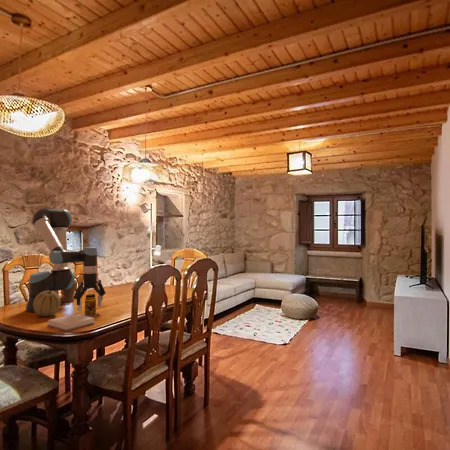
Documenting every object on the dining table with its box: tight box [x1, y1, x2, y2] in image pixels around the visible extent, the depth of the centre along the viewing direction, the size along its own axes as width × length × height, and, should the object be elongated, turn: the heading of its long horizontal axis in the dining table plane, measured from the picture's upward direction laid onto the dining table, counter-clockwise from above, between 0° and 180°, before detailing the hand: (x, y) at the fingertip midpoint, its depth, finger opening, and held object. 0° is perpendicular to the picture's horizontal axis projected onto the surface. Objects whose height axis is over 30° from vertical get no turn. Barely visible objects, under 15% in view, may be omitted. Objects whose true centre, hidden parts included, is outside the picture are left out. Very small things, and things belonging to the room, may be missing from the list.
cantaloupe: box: [33, 291, 62, 317], centre depth 205 cm, size 15×15×15 cm
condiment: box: [80, 293, 99, 317], centre depth 208 cm, size 7×8×12 cm
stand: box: [47, 313, 95, 332], centre depth 186 cm, size 17×17×3 cm
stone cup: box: [59, 280, 78, 303], centre depth 248 cm, size 15×12×15 cm
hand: (89, 308), depth 208 cm, fingers open, 13 cm apart
